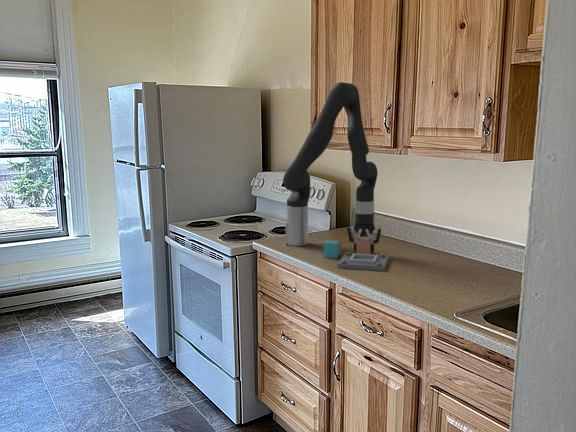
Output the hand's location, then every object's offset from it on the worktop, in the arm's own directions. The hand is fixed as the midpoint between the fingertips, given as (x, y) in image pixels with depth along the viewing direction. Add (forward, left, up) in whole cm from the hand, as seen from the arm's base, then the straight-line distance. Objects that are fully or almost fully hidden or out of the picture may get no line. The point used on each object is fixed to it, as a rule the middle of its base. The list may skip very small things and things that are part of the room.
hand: (363, 252), depth 216 cm
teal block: (-12, -7, -1) cm, 14 cm away
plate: (+2, -15, -1) cm, 15 cm away
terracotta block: (0, 0, -1) cm, 1 cm away
